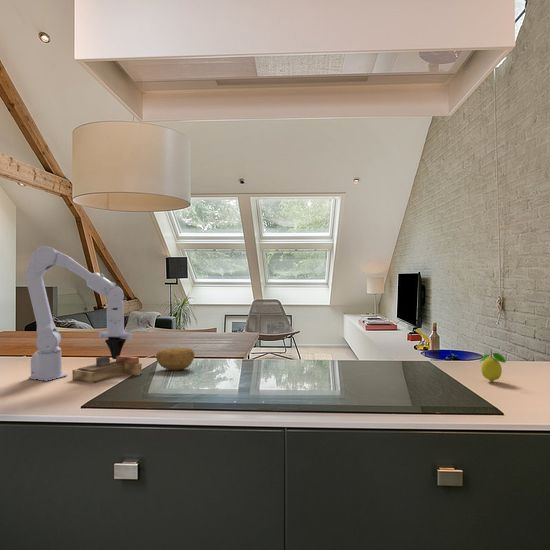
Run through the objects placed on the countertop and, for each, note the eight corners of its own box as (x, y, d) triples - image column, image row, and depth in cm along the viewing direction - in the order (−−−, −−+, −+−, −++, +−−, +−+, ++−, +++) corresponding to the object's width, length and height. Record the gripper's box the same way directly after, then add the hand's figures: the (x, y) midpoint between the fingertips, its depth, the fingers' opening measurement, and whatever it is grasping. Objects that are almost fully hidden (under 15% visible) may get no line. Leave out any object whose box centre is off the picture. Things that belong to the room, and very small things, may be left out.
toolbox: (72, 379, 135) (72, 368, 135) (111, 369, 149) (111, 359, 149) (106, 384, 128) (106, 372, 128) (143, 373, 143) (143, 362, 143)
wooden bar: (115, 361, 144) (115, 356, 144) (119, 360, 146) (119, 355, 146) (135, 363, 141) (135, 358, 141) (138, 362, 142) (138, 357, 142)
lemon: (506, 385, 122) (506, 351, 122) (485, 384, 124) (484, 351, 124) (499, 379, 129) (498, 347, 129) (478, 378, 130) (478, 347, 130)
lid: (78, 370, 136) (78, 360, 136) (110, 362, 148) (110, 353, 148) (94, 372, 132) (94, 362, 132) (126, 364, 145) (125, 354, 145)
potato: (163, 366, 154) (162, 345, 154) (198, 367, 152) (198, 345, 152) (150, 372, 144) (150, 349, 144) (188, 373, 142) (188, 350, 142)
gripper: (139, 319, 146) (139, 358, 146) (109, 318, 152) (110, 355, 152) (124, 322, 140) (124, 361, 140) (93, 320, 146) (94, 358, 146)
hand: (115, 358), depth 146 cm, fingers closed
